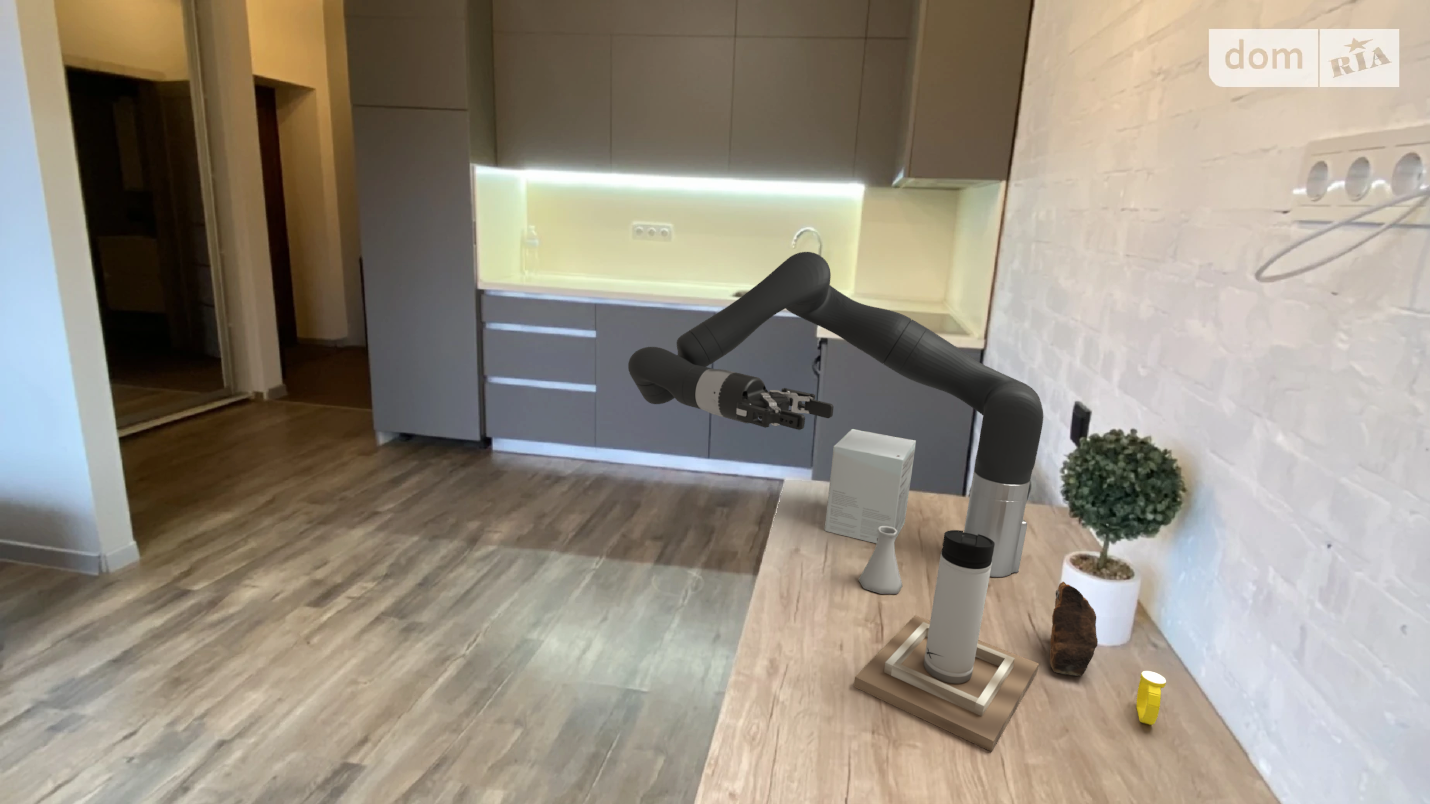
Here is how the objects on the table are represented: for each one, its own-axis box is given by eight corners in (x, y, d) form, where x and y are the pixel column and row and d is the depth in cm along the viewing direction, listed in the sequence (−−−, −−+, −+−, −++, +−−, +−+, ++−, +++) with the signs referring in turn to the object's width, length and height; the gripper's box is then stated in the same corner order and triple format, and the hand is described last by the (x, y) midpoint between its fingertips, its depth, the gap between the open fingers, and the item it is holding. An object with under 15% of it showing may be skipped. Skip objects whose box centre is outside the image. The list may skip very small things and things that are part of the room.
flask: (903, 598, 120) (911, 542, 118) (858, 591, 122) (865, 536, 119) (901, 577, 127) (909, 523, 124) (858, 571, 128) (865, 517, 126)
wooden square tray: (913, 623, 113) (916, 606, 112) (1036, 672, 103) (1040, 654, 102) (853, 686, 98) (856, 666, 97) (991, 751, 87) (995, 730, 87)
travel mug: (920, 677, 98) (941, 539, 92) (926, 651, 104) (947, 519, 98) (969, 691, 96) (994, 550, 90) (973, 663, 102) (997, 529, 96)
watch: (1128, 702, 99) (1137, 661, 97) (1152, 708, 98) (1161, 667, 96) (1135, 727, 93) (1145, 685, 92) (1160, 734, 92) (1170, 691, 91)
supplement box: (906, 522, 149) (918, 440, 144) (891, 548, 138) (904, 459, 133) (842, 507, 154) (851, 427, 150) (823, 531, 143) (832, 445, 138)
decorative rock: (1045, 630, 114) (1058, 567, 111) (1089, 642, 111) (1103, 577, 108) (1042, 673, 103) (1057, 604, 100) (1091, 687, 101) (1107, 617, 98)
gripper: (704, 379, 114) (795, 401, 104) (756, 365, 125) (843, 385, 115) (702, 426, 116) (791, 452, 106) (753, 408, 127) (838, 430, 117)
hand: (818, 417), depth 111 cm, fingers open, 8 cm apart
